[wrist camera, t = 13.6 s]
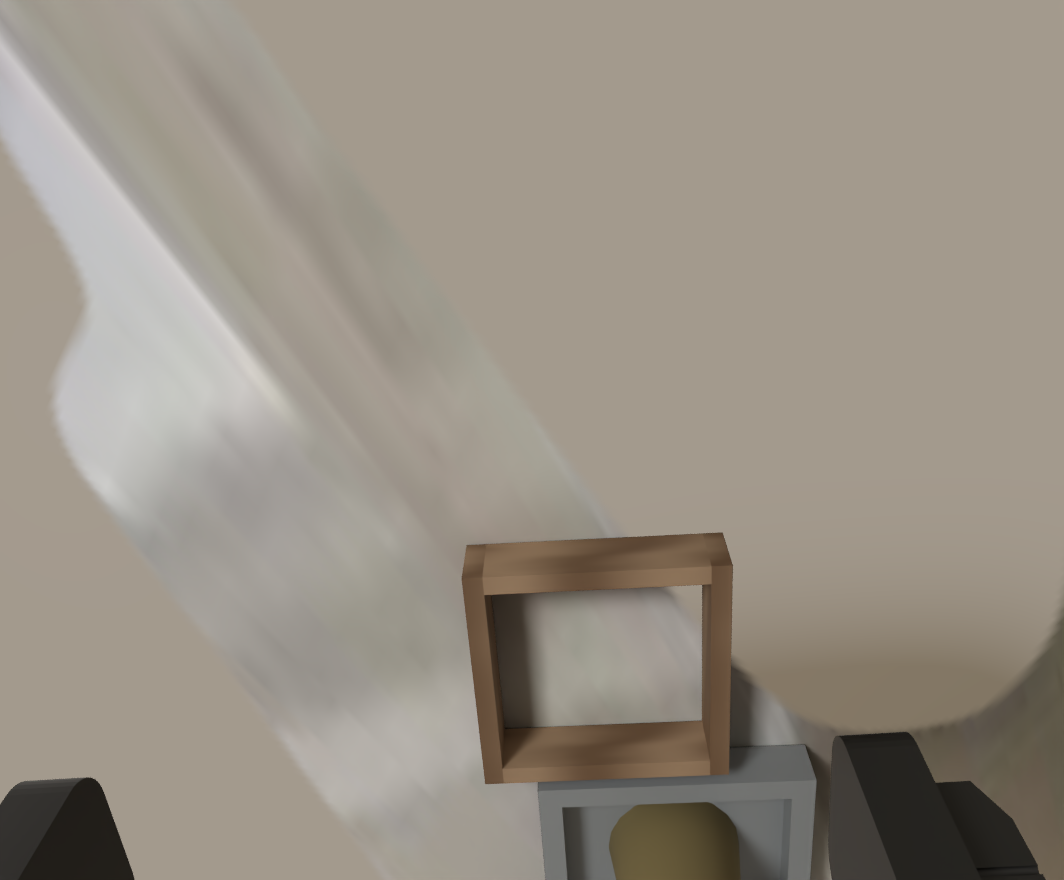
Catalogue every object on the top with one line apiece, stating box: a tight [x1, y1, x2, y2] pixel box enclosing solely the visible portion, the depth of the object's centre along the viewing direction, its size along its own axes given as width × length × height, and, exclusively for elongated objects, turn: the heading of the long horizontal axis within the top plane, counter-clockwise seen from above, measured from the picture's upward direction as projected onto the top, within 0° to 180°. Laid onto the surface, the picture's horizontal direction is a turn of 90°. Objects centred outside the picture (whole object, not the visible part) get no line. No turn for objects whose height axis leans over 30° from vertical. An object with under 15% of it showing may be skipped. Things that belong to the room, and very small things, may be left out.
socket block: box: [462, 533, 733, 784], centre depth 41 cm, size 10×10×2 cm
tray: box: [538, 745, 817, 880], centre depth 46 cm, size 12×10×2 cm
